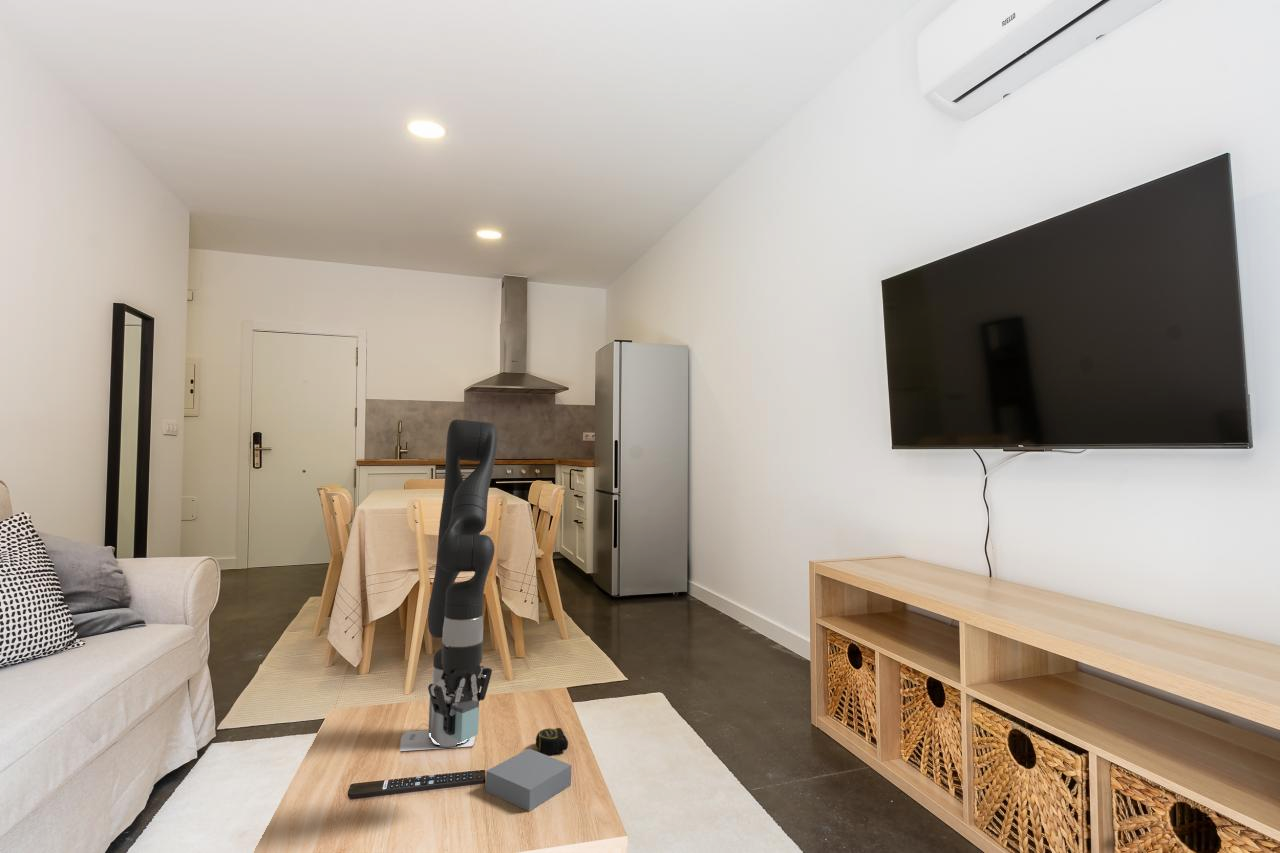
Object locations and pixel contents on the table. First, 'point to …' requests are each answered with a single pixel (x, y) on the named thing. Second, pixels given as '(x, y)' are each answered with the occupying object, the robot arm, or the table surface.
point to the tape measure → (551, 740)
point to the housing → (464, 719)
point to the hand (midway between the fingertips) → (459, 729)
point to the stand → (528, 779)
